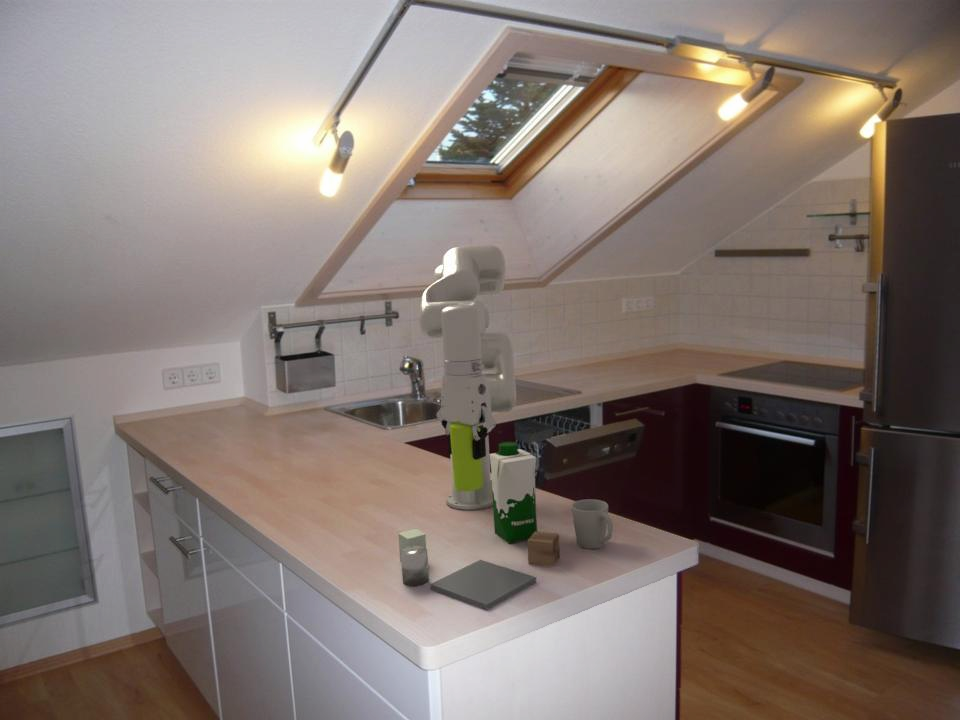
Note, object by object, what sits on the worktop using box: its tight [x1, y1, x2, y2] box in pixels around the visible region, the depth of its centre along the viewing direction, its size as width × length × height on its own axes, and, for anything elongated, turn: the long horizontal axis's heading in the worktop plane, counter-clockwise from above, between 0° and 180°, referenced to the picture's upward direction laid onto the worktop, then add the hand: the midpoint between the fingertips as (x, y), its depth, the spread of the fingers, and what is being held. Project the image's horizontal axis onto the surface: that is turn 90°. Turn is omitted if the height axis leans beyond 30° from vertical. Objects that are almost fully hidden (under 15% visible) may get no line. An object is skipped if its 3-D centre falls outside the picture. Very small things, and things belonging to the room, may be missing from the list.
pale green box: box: [398, 528, 427, 563], centre depth 162 cm, size 4×4×6 cm
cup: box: [570, 498, 614, 550], centre depth 165 cm, size 8×10×8 cm
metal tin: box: [401, 546, 430, 587], centre depth 153 cm, size 5×5×6 cm
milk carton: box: [489, 441, 538, 544], centre depth 172 cm, size 9×9×20 cm
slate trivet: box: [429, 559, 537, 611], centre depth 149 cm, size 14×14×1 cm
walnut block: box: [526, 530, 561, 567], centre depth 160 cm, size 5×5×5 cm
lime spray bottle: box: [449, 421, 483, 491], centre depth 162 cm, size 6×7×20 cm
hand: (467, 454), depth 162 cm, fingers closed on lime spray bottle, 5 cm apart
